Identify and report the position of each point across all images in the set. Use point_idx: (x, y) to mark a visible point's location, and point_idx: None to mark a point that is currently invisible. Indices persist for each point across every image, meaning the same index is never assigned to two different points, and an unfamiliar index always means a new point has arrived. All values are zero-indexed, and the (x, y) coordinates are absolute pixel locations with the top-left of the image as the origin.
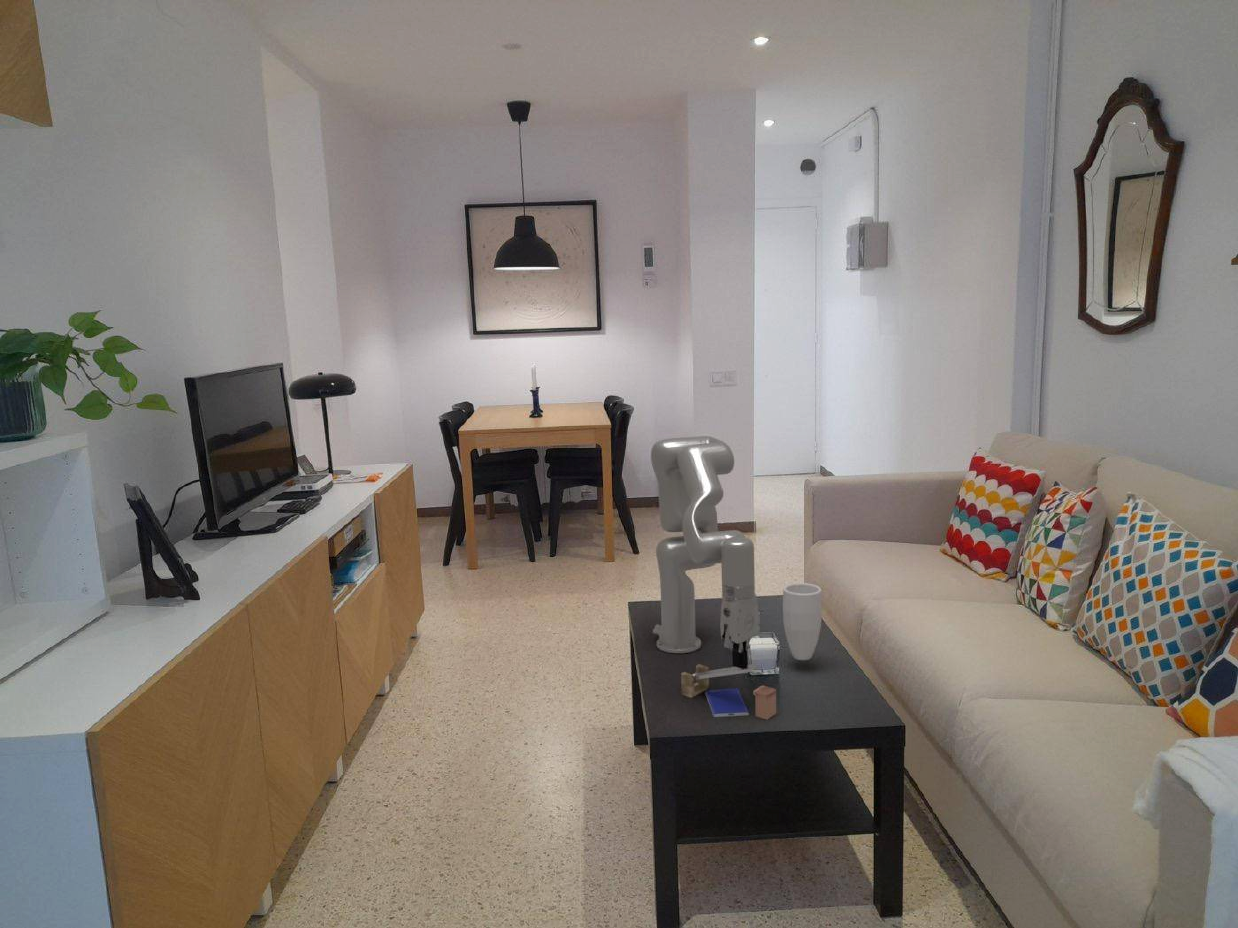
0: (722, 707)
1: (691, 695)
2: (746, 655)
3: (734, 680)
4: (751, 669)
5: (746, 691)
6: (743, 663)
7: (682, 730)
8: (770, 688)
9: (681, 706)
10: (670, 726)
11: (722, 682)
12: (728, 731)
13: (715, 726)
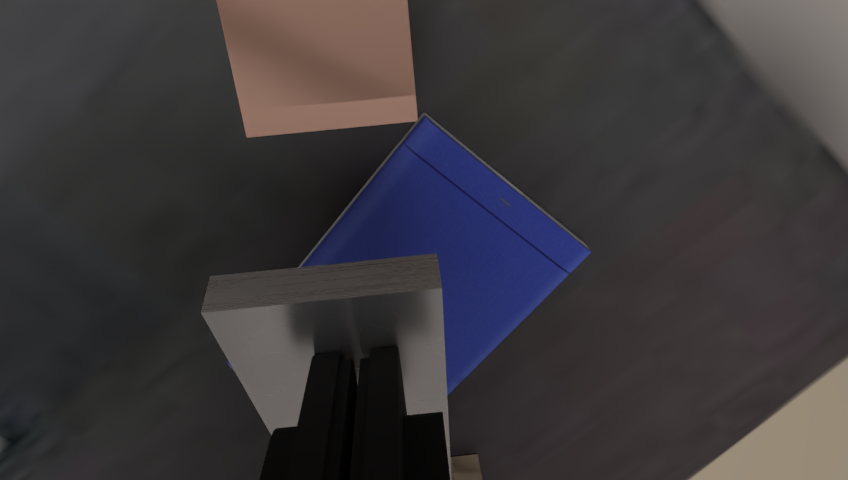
0: (499, 267)
1: (478, 463)
2: (314, 473)
3: (139, 449)
4: (344, 269)
5: (184, 326)
6: (398, 390)
7: (822, 255)
8: (242, 28)
9: (587, 424)
10: (810, 323)
11: (214, 470)
12: (701, 54)
13: (685, 159)
